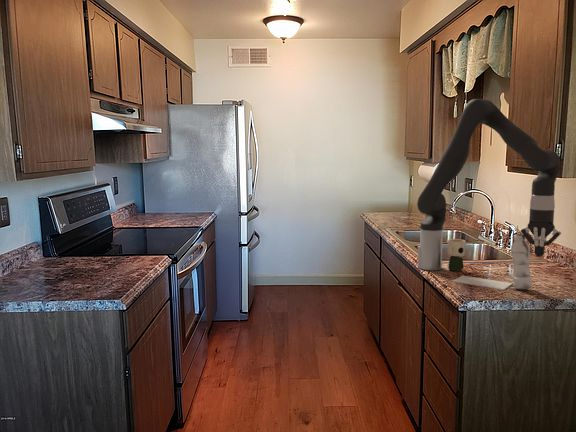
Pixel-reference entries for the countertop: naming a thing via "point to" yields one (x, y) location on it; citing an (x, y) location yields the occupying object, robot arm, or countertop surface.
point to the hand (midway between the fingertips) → (539, 256)
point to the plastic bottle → (521, 263)
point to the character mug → (456, 254)
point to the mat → (483, 282)
